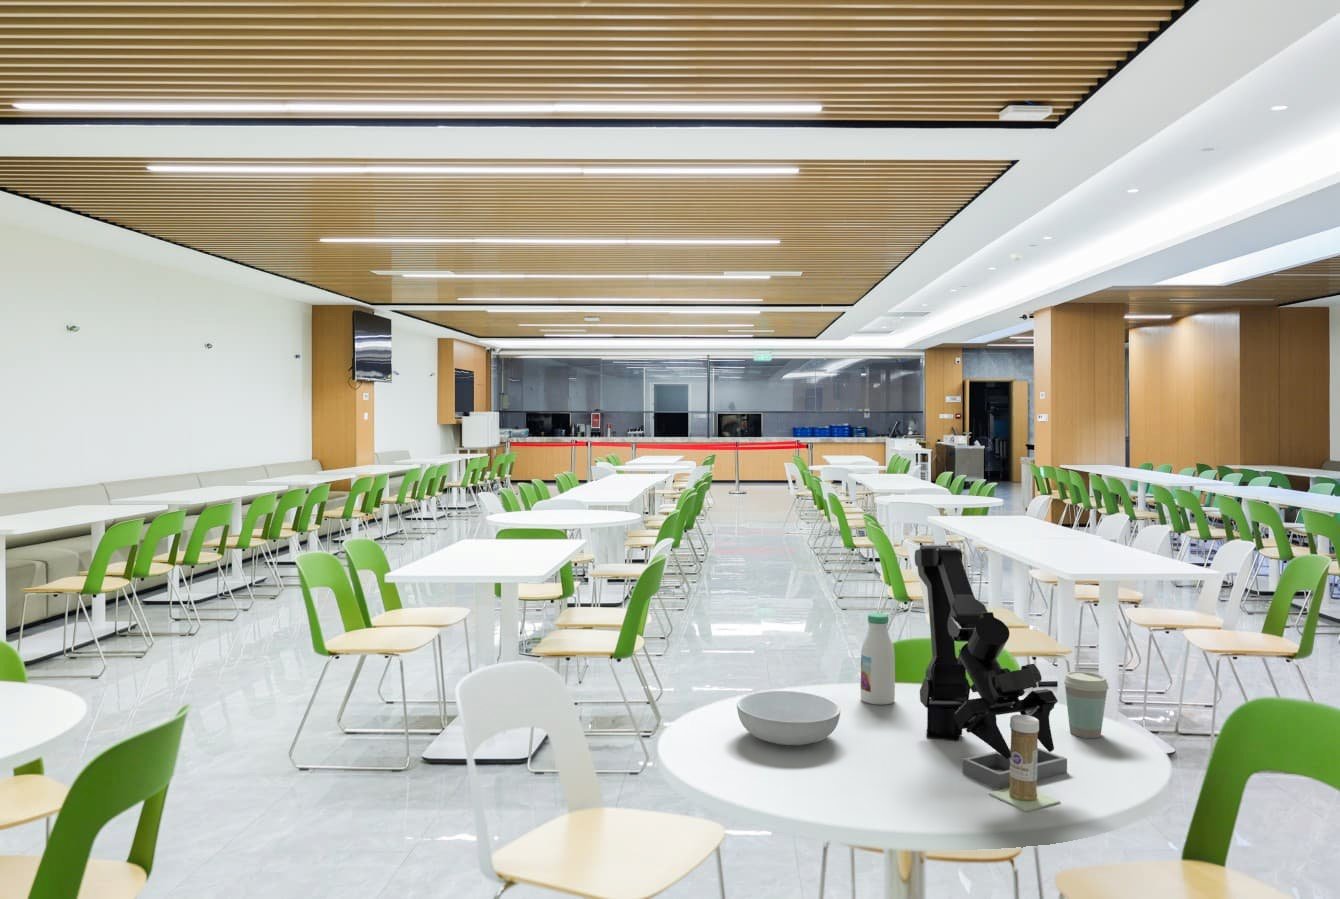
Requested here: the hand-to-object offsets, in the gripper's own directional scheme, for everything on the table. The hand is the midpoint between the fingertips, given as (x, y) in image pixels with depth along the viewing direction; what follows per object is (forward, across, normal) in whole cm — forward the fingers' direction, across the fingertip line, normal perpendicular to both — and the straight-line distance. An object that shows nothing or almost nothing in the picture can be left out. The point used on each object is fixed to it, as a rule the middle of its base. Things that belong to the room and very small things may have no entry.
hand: (1030, 754), depth 153 cm
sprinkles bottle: (+4, 0, +7) cm, 8 cm away
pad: (+5, 0, +7) cm, 8 cm away
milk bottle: (-35, +10, +47) cm, 59 cm away
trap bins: (-2, +7, +14) cm, 16 cm away
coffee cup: (-10, +36, +22) cm, 44 cm away
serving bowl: (-24, -22, +36) cm, 49 cm away
